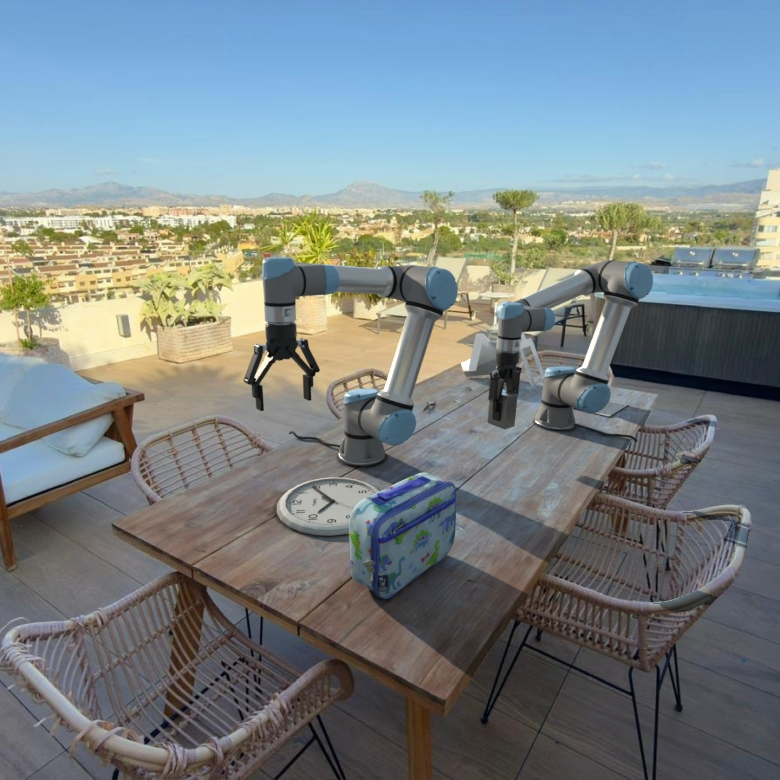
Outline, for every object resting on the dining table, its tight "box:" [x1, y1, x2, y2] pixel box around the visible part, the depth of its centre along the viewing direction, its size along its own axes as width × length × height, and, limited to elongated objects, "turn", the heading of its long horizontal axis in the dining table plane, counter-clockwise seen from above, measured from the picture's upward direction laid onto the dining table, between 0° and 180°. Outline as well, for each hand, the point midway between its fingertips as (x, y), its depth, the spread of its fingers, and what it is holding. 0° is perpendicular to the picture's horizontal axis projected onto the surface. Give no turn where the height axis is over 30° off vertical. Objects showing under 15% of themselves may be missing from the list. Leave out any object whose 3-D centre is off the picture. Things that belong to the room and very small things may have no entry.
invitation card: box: [595, 399, 629, 418], centre depth 226 cm, size 21×1×15 cm
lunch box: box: [348, 471, 457, 600], centre depth 113 cm, size 26×11×21 cm, turn 134°
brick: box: [487, 389, 519, 430], centre depth 176 cm, size 8×5×12 cm
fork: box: [422, 395, 437, 412], centre depth 223 cm, size 3×16×2 cm, turn 160°
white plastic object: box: [460, 332, 545, 391], centre depth 259 cm, size 37×45×31 cm
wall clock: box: [276, 476, 381, 537], centre depth 142 cm, size 30×2×30 cm
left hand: (284, 404), depth 134 cm, fingers open, 13 cm apart
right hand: (501, 417), depth 177 cm, fingers closed on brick, 5 cm apart
